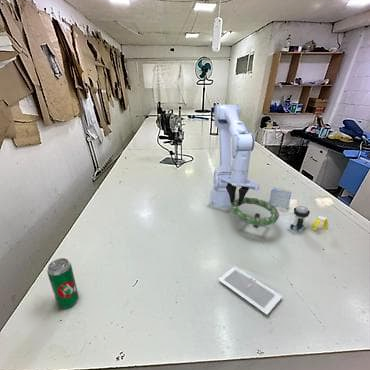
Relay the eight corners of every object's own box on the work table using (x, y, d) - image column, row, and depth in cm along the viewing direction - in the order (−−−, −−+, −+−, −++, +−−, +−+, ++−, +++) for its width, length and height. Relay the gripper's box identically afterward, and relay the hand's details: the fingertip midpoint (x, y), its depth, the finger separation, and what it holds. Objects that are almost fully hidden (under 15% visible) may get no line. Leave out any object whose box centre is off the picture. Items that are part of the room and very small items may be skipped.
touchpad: (266, 317, 56) (267, 311, 55) (217, 282, 66) (218, 276, 65) (281, 299, 61) (283, 293, 60) (234, 268, 71) (234, 263, 70)
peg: (241, 230, 89) (243, 215, 87) (248, 221, 95) (250, 207, 93) (262, 237, 85) (265, 222, 83) (268, 227, 91) (271, 213, 89)
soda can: (61, 293, 62) (51, 257, 57) (81, 292, 62) (73, 256, 57) (53, 310, 57) (42, 272, 52) (75, 309, 58) (65, 271, 53)
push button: (300, 226, 93) (306, 203, 89) (310, 233, 88) (317, 210, 84) (286, 228, 91) (291, 205, 87) (295, 236, 86) (301, 212, 82)
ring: (223, 214, 82) (224, 208, 81) (240, 197, 95) (241, 192, 93) (270, 233, 74) (272, 227, 73) (282, 211, 87) (284, 206, 86)
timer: (321, 227, 91) (325, 214, 89) (327, 231, 89) (331, 218, 87) (309, 230, 90) (313, 217, 87) (315, 234, 87) (319, 220, 85)
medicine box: (288, 207, 106) (292, 190, 103) (286, 212, 103) (290, 194, 99) (270, 203, 110) (273, 186, 107) (268, 207, 107) (271, 189, 103)
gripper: (215, 168, 82) (213, 202, 88) (257, 176, 75) (251, 213, 80) (224, 163, 88) (221, 195, 93) (263, 170, 80) (258, 205, 86)
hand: (236, 203), depth 87 cm, fingers closed on ring, 2 cm apart
